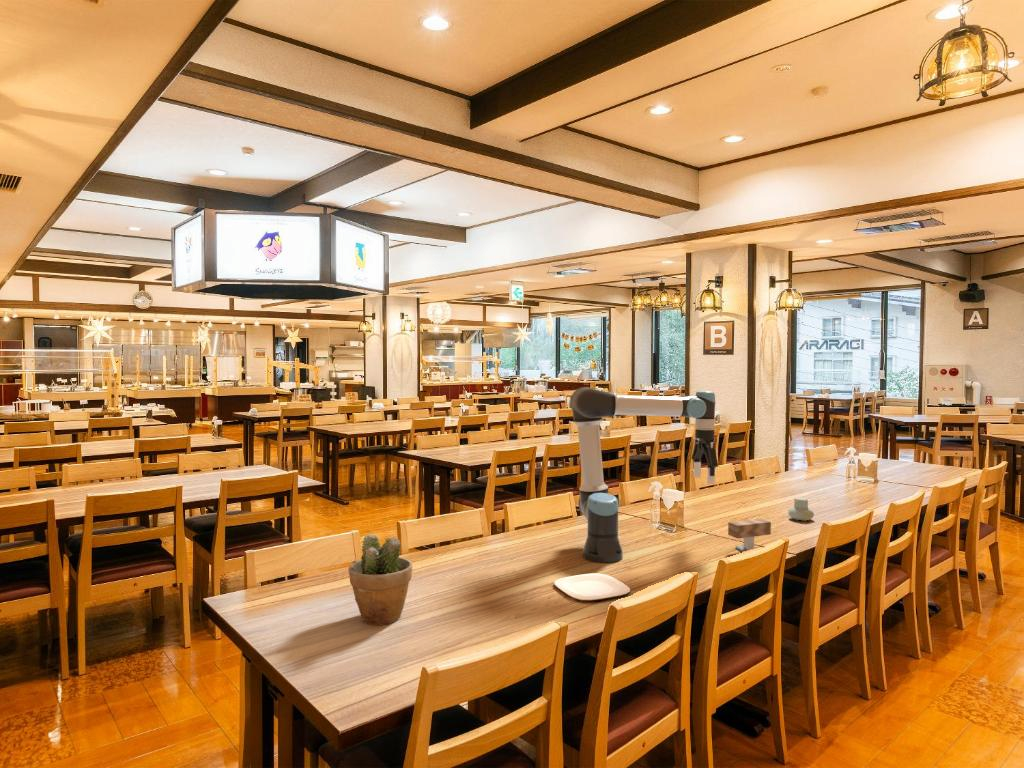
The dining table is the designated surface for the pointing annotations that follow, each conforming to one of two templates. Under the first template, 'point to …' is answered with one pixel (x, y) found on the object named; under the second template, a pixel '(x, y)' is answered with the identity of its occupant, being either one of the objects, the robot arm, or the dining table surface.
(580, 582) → the plate
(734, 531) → the beam
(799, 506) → the air freshener
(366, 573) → the potted plant
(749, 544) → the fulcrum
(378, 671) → the dining table surface
